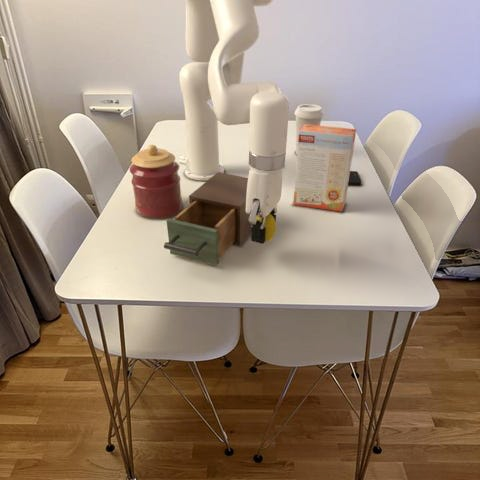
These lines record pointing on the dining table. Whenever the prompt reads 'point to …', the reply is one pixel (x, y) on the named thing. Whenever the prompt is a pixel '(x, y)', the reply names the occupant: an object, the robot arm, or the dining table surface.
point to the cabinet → (227, 199)
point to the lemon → (269, 226)
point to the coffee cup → (307, 117)
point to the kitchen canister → (156, 183)
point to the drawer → (202, 232)
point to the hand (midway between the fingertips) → (263, 234)
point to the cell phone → (354, 178)
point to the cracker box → (323, 166)
